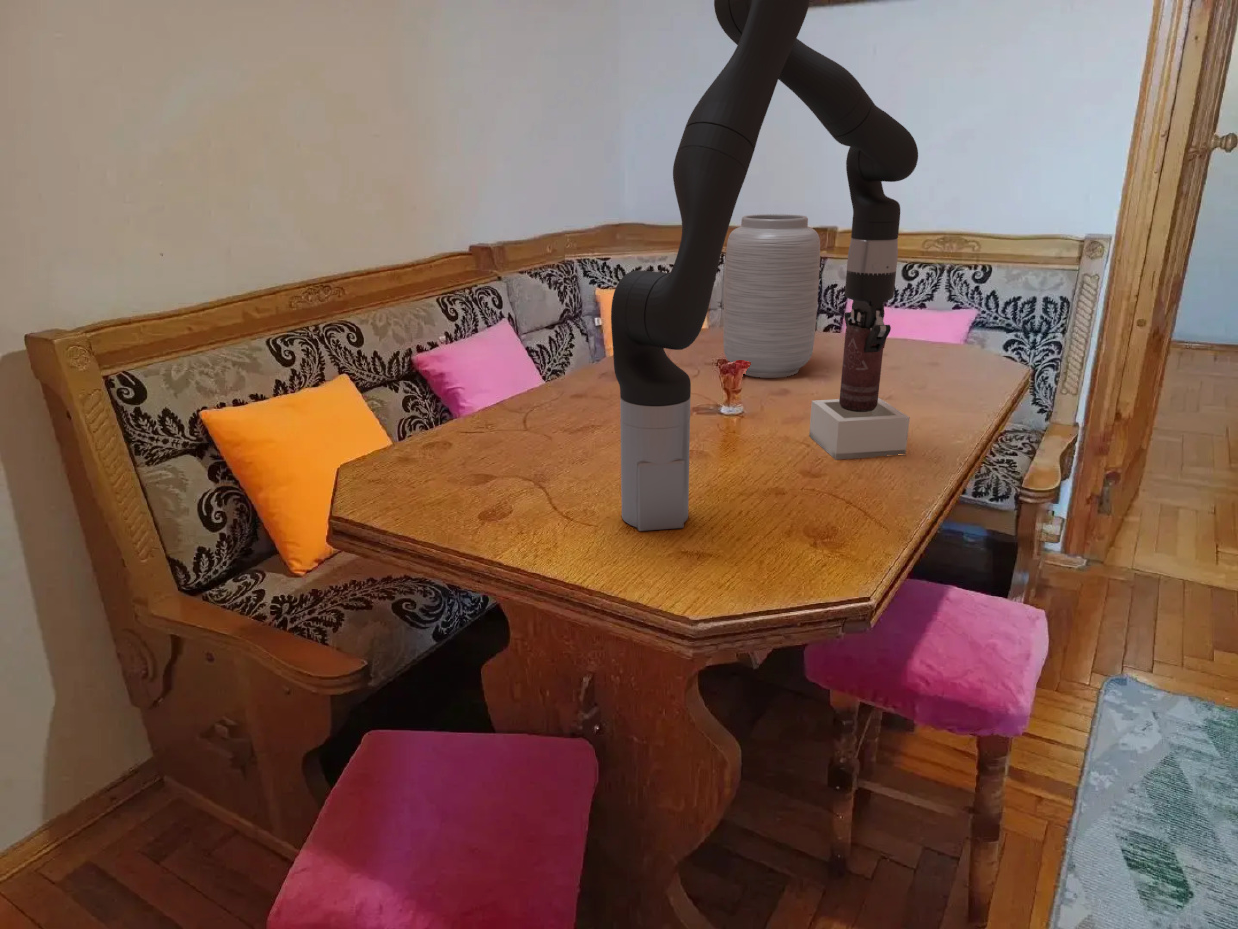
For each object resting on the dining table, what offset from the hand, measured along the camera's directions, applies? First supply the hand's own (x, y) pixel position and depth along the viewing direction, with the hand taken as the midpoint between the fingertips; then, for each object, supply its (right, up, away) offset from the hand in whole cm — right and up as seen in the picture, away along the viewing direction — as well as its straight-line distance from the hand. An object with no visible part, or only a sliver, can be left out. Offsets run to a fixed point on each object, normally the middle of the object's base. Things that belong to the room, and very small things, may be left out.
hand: (861, 374), depth 139 cm
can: (0, -5, +2) cm, 6 cm away
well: (0, -11, +4) cm, 12 cm away
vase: (-6, +7, +53) cm, 54 cm away
